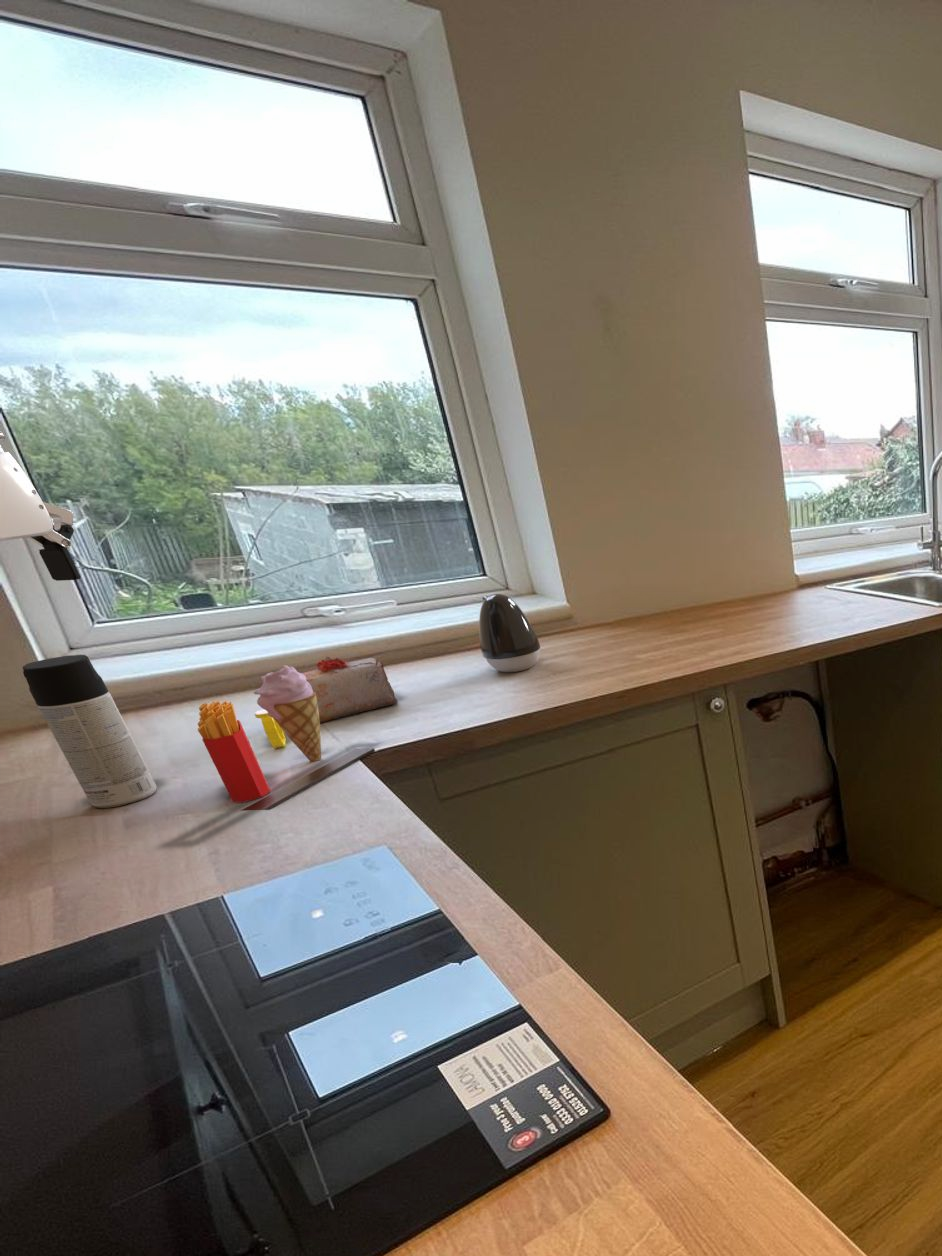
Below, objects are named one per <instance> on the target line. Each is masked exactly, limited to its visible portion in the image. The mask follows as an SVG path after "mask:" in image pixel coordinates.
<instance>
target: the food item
mask: <svg viewBox="0 0 942 1256" xmlns="http://www.w3.org/2000/svg"><path fill="white" fill-rule="evenodd" d="M315 666H316V669H313V670H308V671H305V672H300V673H301V674H303V675H304V676H305V677H306V681H307V682H308V683H309V684H310V685H311V687H312V690H313V692H316V698H317V705H318V711H319V721H320V724H321V723H324V722H328V721H332V720H336V719H339V718H342V717H347V716H352V715H355V714H359V713H363V712H367V711H373V710H377V709H380V708H385V707H388V706H392V705H395V704H398V703H399V702H398V699H397V698H396V696H395V691H394V688H393V687H392V685H391V683H390V682H389V680H388V676H387V673H386V671H385V669H384V664H383V663H382V662H380V661H379V659H377V658H374V657H368V658H363V659H359V660H358V659H357V660H354V661H348V662H345V661H344V660H343V659H341V658H338V657H335V659H334V658H331V657H330V656H326V657H325V658H324V659H321V661H319V662H316V664H315Z"/></svg>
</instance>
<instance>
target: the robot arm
mask: <svg viewBox="0 0 942 1256" xmlns="http://www.w3.org/2000/svg"><path fill="white" fill-rule="evenodd" d="M5 439H6V437H5V434H4V433H3V432H2V431H0V442H4V441H5ZM73 526H74V512H73V510H71V509H70V508H69V509H68V508H66V507H62V506H59V505H56V504H52V503H49V502H46V501H43V500H42V497H41V496H40V494H39V493H38V491H37V489H36V488H35V485H33V483H32V482H31V480H30V479H29V477H28V475H27V474H26V472H25V471H24V470H23V469H22V467H21V466H20V464H19V463H18V462H17V460H16V459H15V458H14V457H13V455H12V454H11V453H10V452H9V451H4V449H3V447H2V445H1V444H0V542H4V541H12V540H19V539H25V538H27V539H29V540H31V541H32V542H34V543H36V544H37V545H38V546H41V547H42V548H41V549H38V552H39V555H40V557H41V559H42V561H43V563H44V565H45V567H46V569H47V571H48V573H49V575H50V577H51V579H52V580H53V581H59V582H61V581H77V580H81V579H82V577H81V574H80V573H79V570H78V568H77V566H76V563H75V562H74V560H73V557H72V555H71V553H70V551H69V550H68V549H69V548H71V547H72V542H71V538H72V537H73V534H74V532H75V528H74V527H73Z"/></svg>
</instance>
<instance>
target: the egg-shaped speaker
mask: <svg viewBox="0 0 942 1256" xmlns="http://www.w3.org/2000/svg"><path fill="white" fill-rule="evenodd" d="M482 601H483V602H482V604H481V607H480V610H479V619H478V620H479V621H478V628H479V630H478V634H479V644H480V651H481V655H482V657H483V658H484V659H485V660H486V662H487V663H488V664H489V665H490V667H492V668H493V669H494V670H497V671H499V672H502V673H517V672H523V671H525V670H528V669H531V668H532V667H533V666H534V665H535V664H536V663H537V662H538V660H539V658H540V649H541V644H540V641H539V639H538V636H537V634H536V632H535V630H534V628H533V626H532V624H531V622H530V621H529V619H528V618H527V616H526V615H525V613H524V611H523V610H522V608H521V607H520V606H519V604H517V603H516V602H515V601H514V600H513V599H512V598H511V597H509V596H508V595H506V594H502V593H494V594H490V595H489V596H488V595H483V596H482Z"/></svg>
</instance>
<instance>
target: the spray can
mask: <svg viewBox="0 0 942 1256" xmlns="http://www.w3.org/2000/svg"><path fill="white" fill-rule="evenodd" d="M22 672H23V676H24V678H25V680H26V682H27V685H28V690H29V693H30V694H31V697H32V698H33V700H34V702H35V705H36V706H37V708H38V710H39V712H40V713H41V716H42V717H43V719H44V720H45V722H46V725H47V726H48V728H49V730H50V731H51V734H52V736H53V737H54V739H55V741H56V743H57V744H58V746H59V748H60V750H61V752H62V754H63V756H64V758H65V759H66V762H67V763H68V765H69V767H70V768H71V770H72V772H73V774H74V776H75V778H76V779H77V781H78V784H79V785H80V787H81V789H82V791H83V792H84V794H85V796H86V798H87V800H88V801H89V803H90V804H91V805H92V806H93V808H95V809H109V808H110V809H111V808H116V807H121V806H125V805H127V804H132V803H135V802H138V801H141V800H144V799H148V798H149V797H151V796H152V795H153V794H155V792H156V791H157V789H158V787H157V785H156V782H155V780H154V778H153V776H152V775H151V772H150V771H149V768H148V766H147V765H146V762H145V760H144V759H143V758H144V757H143V756H142V755H141V753H140V750H139V748H138V746H137V744H136V742H135V741H134V738H133V736H132V734H131V732H130V731H129V728H128V726H127V724H126V723H125V721H124V718H123V717H122V714H121V713H120V710H119V708H118V707H117V705H116V702H115V700H114V698H113V696H112V694H111V693H110V691H109V689H108V687H107V686H106V683H105V682H104V680H103V677H102V676H101V675H100V674H99V673H98V671H97V670H96V668H95V667H94V665H93V664H92V661H91V660H90V658H89V657H88V656H87V655H85V654H75V655H61V656H57V657H51V658H45V659H41V660H37V661H32V662H28V663H26V664H25V665H23V666H22Z"/></svg>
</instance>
